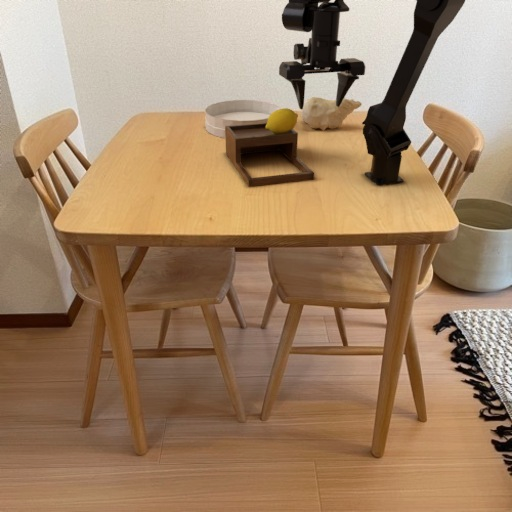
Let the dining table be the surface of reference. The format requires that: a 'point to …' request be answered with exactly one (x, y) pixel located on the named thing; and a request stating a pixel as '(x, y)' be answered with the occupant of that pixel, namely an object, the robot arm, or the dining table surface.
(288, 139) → the step shelf
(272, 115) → the lemon
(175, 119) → the dining table surface
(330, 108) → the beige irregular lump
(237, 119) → the dish
